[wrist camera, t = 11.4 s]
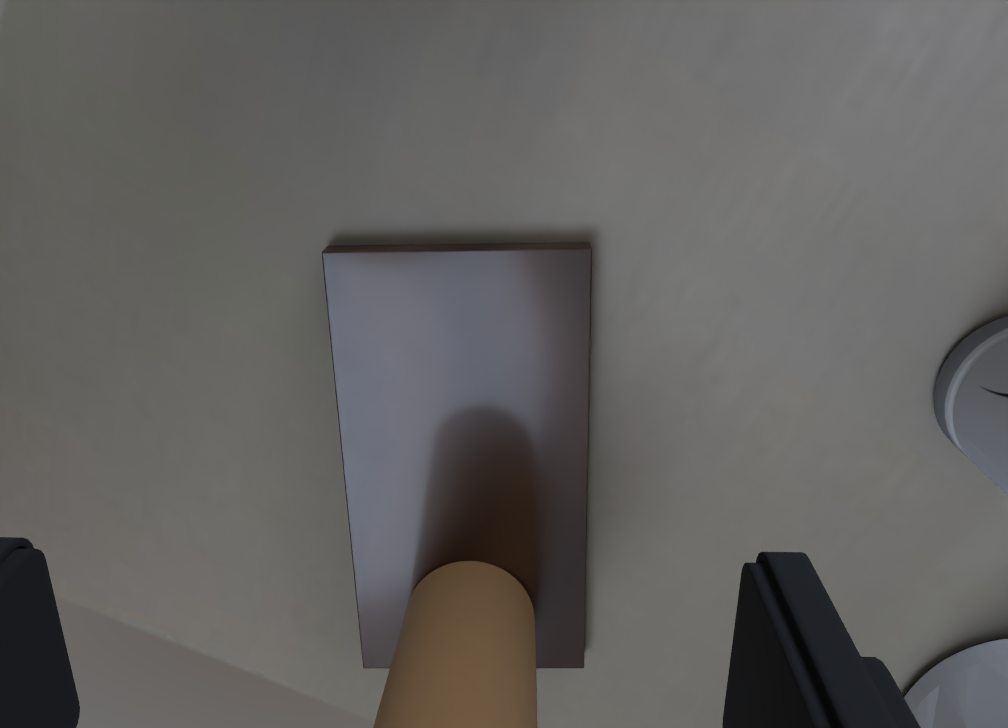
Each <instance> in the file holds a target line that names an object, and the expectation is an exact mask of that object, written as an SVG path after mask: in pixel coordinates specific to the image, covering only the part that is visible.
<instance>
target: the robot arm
mask: <svg viewBox="0 0 1008 728" xmlns="http://www.w3.org/2000/svg"><path fill="white" fill-rule="evenodd" d="M79 712H80V706H79V700H78V696H77V691H76V688H75V683H74V679H73V675H72V670H71V666H70V661H69V657H68V653H67V648H66V644H65V640H64V636H63V632H62V627H61V623H60V618H59V615H58V610H57V606H56V601H55V597H54V593H53V588H52V584H51V580H50V576H49V571H48V567H47V563H46V559H45V556H44V554H43V553H42V551H41V550H38V549H34V547H33V545H32V543H31V542H30V541H29V540H28V539H25V538H6V537H0V728H76V726H77V724H78V719H79ZM723 728H921V727H920V726H919V724H918V722H917V720H916V718H915V717H914V715H913V713H912V711H911V710H910V708H909V706H908V704H907V702H906V701H905V699H904V697H903V695H902V693H901V692H900V690H899V688H898V686H897V685H896V683H895V681H894V679H893V677H892V676H891V674H890V672H889V670H888V669H887V668H886V666H885V665H884V663H883V662H882V661H880V660H879V659H877V658H876V657H861V656H860V654H859V652H858V651H857V649H856V647H855V645H854V643H853V641H852V639H851V637H850V635H849V634H848V632H847V630H846V628H845V626H844V624H843V622H842V620H841V618H840V616H839V615H838V613H837V611H836V609H835V607H834V605H833V603H832V601H831V599H830V598H829V596H828V594H827V592H826V590H825V588H824V586H823V584H822V582H821V580H820V579H819V577H818V575H817V573H816V571H815V569H814V567H813V565H812V563H811V562H810V560H809V558H808V557H807V555H806V554H805V553H800V552H761V553H759V555H758V557H757V560H756V563H745V564H744V565H743V568H742V573H741V581H740V589H739V597H738V605H737V612H736V620H735V628H734V636H733V644H732V652H731V660H730V668H729V675H728V683H727V691H726V699H725V707H724V715H723Z"/></svg>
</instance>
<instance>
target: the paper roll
mask: <svg viewBox="0 0 1008 728" xmlns="http://www.w3.org/2000/svg"><path fill="white" fill-rule="evenodd" d="M374 728H537V686H536V642H535V614H534V609H533V605H532V602H531V600H530V597H529V595H528V594H527V592H526V590H525V589H524V588H523V586H522V585H521V584H520V583H519V582H518V581H517V580H516V579H515V578H514V577H513V576H512V575H510V574H509V573H508V572H506V571H504V570H503V569H501V568H499V567H497V566H494V565H491V564H488V563H484V562H479V561H459V562H454V563H450V564H447V565H444V566H442V567H440V568H438V569H436V570H434V571H433V572H431V573H429V574H428V575H427V576H426V577H425V578H423V579H422V581H421V582H420V583H419V584H418V585H417V587H416V588H415V589H414V591H413V593H412V595H411V597H410V599H409V602H408V605H407V609H406V613H405V616H404V620H403V623H402V627H401V630H400V634H399V638H398V641H397V645H396V648H395V652H394V656H393V659H392V663H391V666H390V670H389V674H388V677H387V681H386V684H385V688H384V692H383V695H382V699H381V702H380V706H379V710H378V713H377V717H376V720H375V724H374Z"/></svg>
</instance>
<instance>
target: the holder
mask: <svg viewBox="0 0 1008 728" xmlns="http://www.w3.org/2000/svg"><path fill="white" fill-rule="evenodd" d="M322 260H323V270H324V280H325V290H326V300H327V310H328V320H329V330H330V340H331V350H332V360H333V370H334V380H335V389H336V399H337V409H338V419H339V429H340V439H341V449H342V459H343V469H344V479H345V489H346V499H347V509H348V519H349V529H350V539H351V549H352V559H353V569H354V579H355V589H356V599H357V609H358V619H359V629H360V639H361V649H362V659H363V667H364V668H390V666H391V663H392V659H393V656H394V652H395V648H396V645H397V641H398V638H399V634H400V630H401V627H402V623H403V620H404V616H405V613H406V609H407V605H408V602H409V599H410V597H411V595H412V593H413V591H414V589H415V588H416V587H417V585H418V584H419V583H420V582H421V581H422V579H423V578H425V577H426V576H427V575H428V574H429V573H431V572H433V571H434V570H436V569H438V568H440V567H442V566H444V565H447V564H450V563H454V562H459V561H479V562H484V563H488V564H491V565H494V566H497V567H499V568H501V569H503V570H504V571H506V572H508V573H509V574H510V575H512V576H513V577H514V578H515V579H516V580H517V581H518V582H519V583H520V584H521V585H522V586H523V588H524V589H525V590H526V592H527V594H528V595H529V597H530V600H531V602H532V605H533V609H534V614H535V642H536V668H584V647H585V595H586V543H587V491H588V439H589V387H590V335H591V283H592V247H591V244H590V243H589V242H577V243H505V244H433V245H361V246H327V247H326V248H325V250H324V251H323V252H322Z"/></svg>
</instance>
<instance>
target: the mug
mask: <svg viewBox="0 0 1008 728" xmlns="http://www.w3.org/2000/svg"><path fill="white" fill-rule="evenodd" d="M904 699H905V701H906V702H907V704H908V706H909V708H910V710H911V711H912V713H913V715H914V717H915V718H916V720H917V722H918V724H919V726H920V727H921V728H1008V639H1001V640H996V641H991V642H986V643H983V644H979V645H976V646H973V647H970V648H967V649H965V650H963V651H960V652H958V653H956V654H954V655H952V656H950V657H948V658H947V659H945V660H943V661H942V662H940V663H939V664H937V665H936V666H934V667H933V668H931V669H930V670H929V671H928V672H927V673H926V674H924V675H923V676H922V677H921V678H920V679H919V680H918V681H917V682H916V683H915V684H914V685H913V687H912V688H911V689H910V690H909V692H908V693H907V694H906V696H905V697H904Z"/></svg>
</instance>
